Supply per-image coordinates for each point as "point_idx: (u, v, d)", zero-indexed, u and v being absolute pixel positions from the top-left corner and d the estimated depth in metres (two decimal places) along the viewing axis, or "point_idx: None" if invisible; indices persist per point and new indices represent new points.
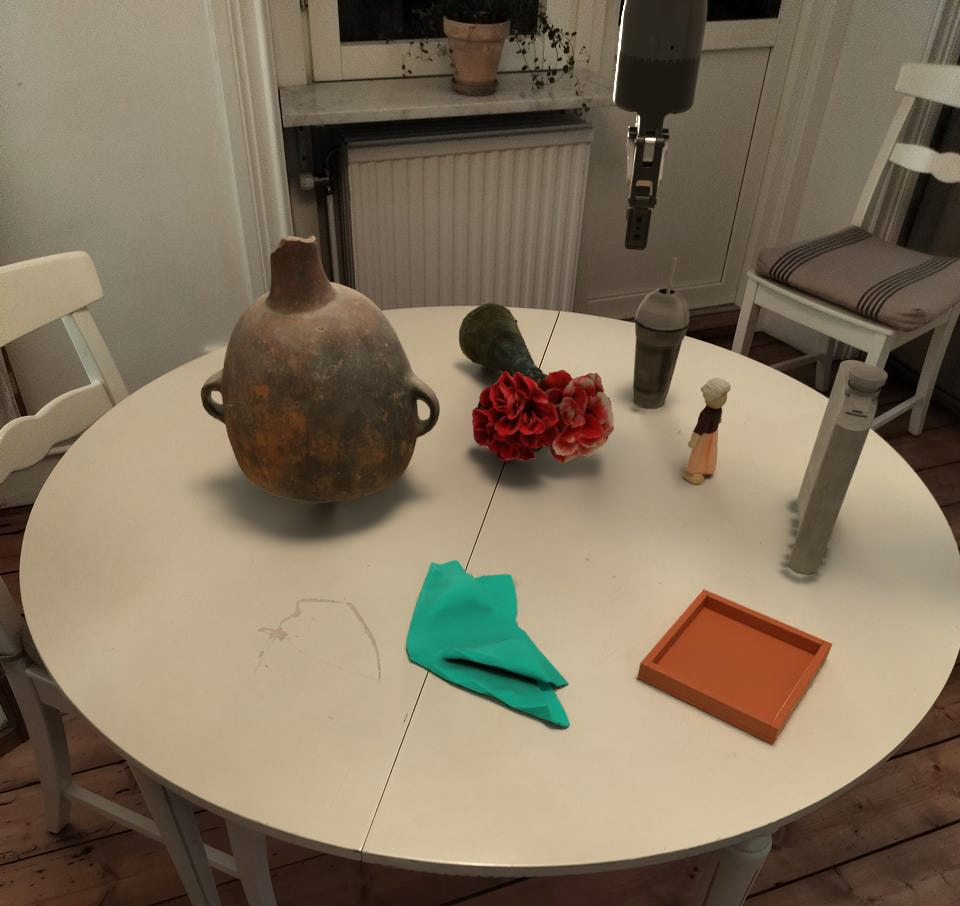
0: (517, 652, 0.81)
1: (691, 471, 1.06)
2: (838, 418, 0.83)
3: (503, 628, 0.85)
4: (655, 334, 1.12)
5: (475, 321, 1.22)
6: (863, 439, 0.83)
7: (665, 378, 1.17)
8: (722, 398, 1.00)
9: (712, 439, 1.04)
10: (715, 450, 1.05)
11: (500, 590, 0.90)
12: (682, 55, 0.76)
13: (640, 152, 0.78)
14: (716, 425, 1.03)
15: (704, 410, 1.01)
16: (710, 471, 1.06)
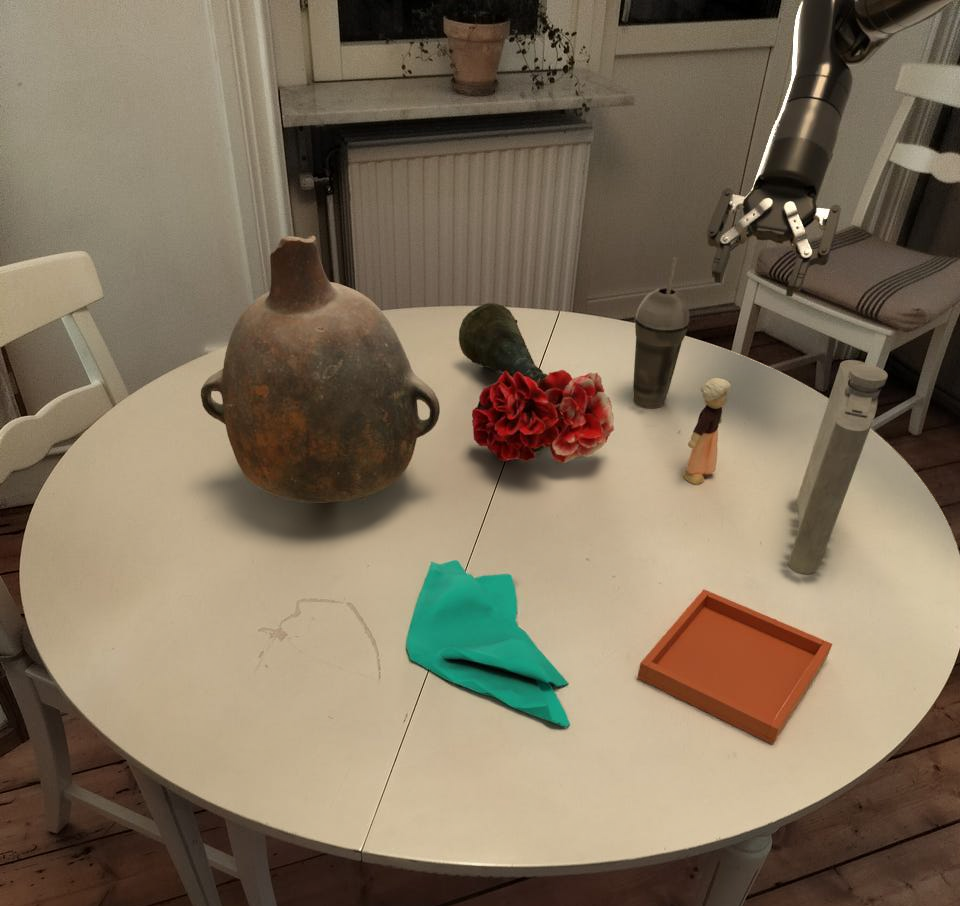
0: (517, 652, 0.81)
1: (691, 471, 1.06)
2: (838, 418, 0.83)
3: (503, 628, 0.85)
4: (655, 334, 1.12)
5: (475, 321, 1.22)
6: (863, 439, 0.83)
7: (665, 378, 1.17)
8: (722, 398, 1.00)
9: (712, 439, 1.04)
10: (715, 450, 1.05)
11: (500, 590, 0.90)
12: (770, 141, 1.00)
13: None
14: (716, 425, 1.03)
15: (704, 410, 1.01)
16: (710, 471, 1.06)
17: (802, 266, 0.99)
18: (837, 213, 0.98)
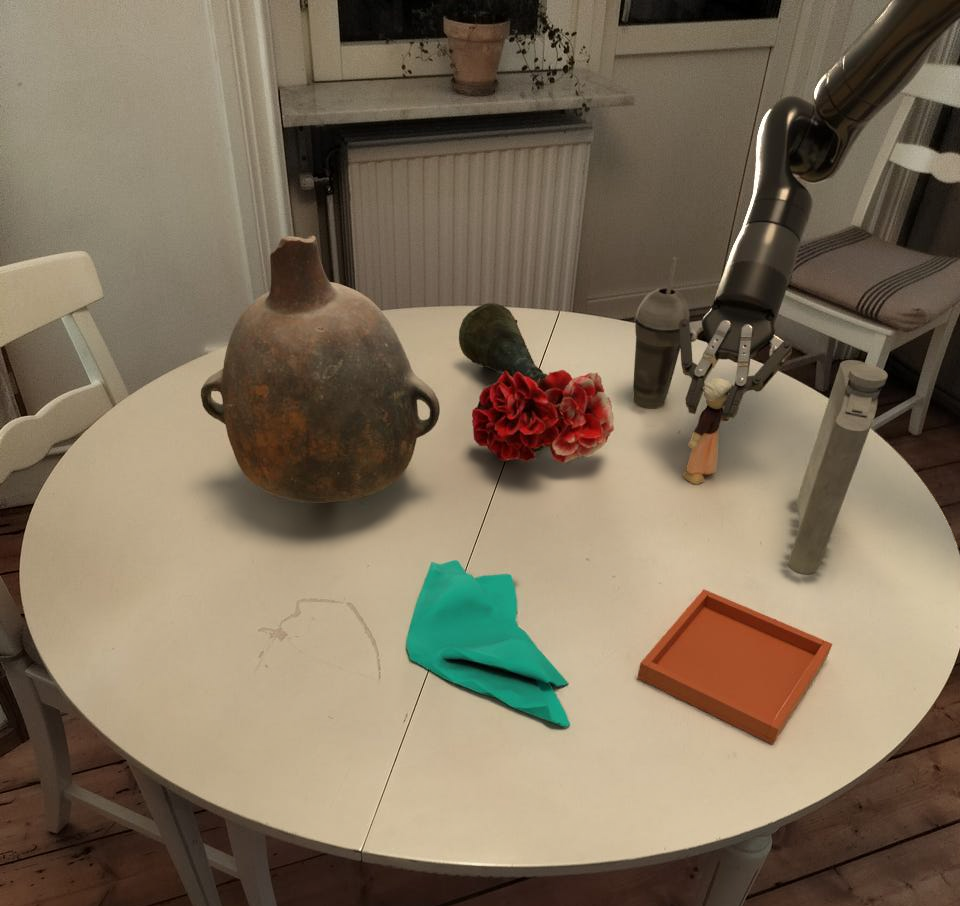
0: (517, 652, 0.81)
1: (691, 471, 1.06)
2: (838, 418, 0.83)
3: (503, 628, 0.85)
4: (655, 334, 1.12)
5: (475, 321, 1.22)
6: (863, 439, 0.83)
7: (665, 378, 1.17)
8: (723, 398, 1.00)
9: (713, 439, 1.04)
10: (715, 450, 1.05)
11: (500, 590, 0.90)
12: (729, 262, 1.00)
13: None
14: (717, 425, 1.03)
15: (705, 410, 1.01)
16: (710, 471, 1.06)
17: (737, 393, 0.99)
18: (786, 349, 0.98)
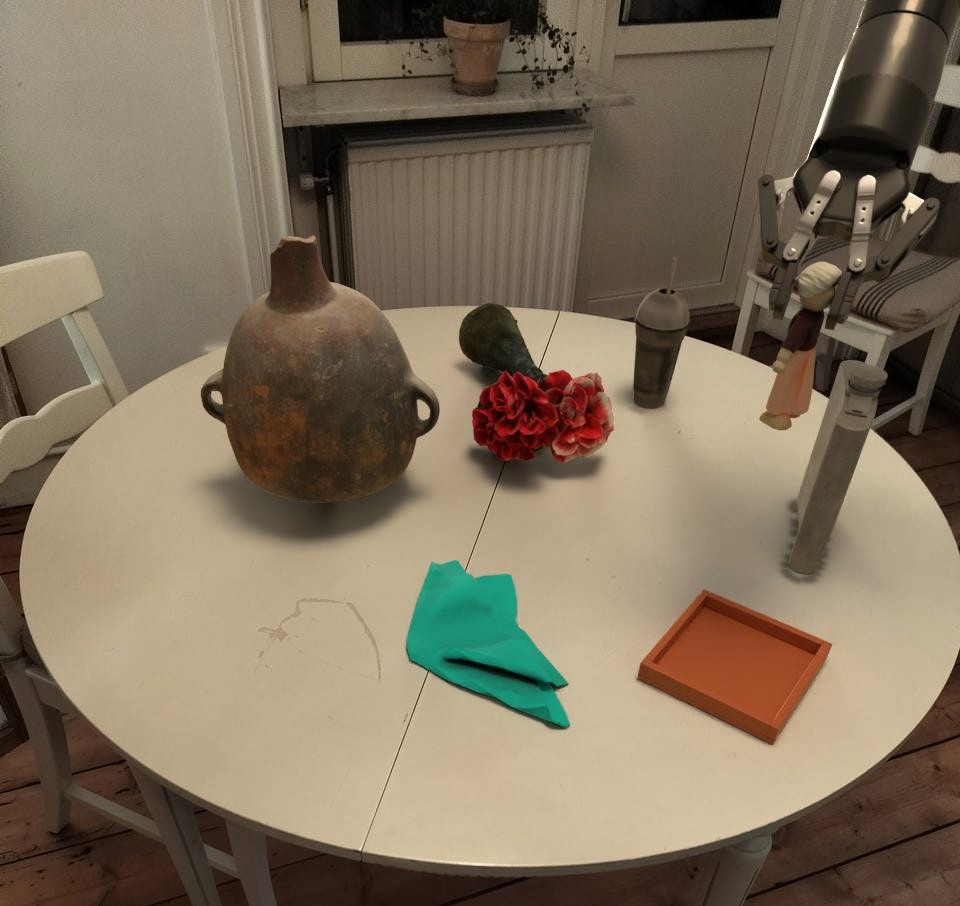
0: (517, 652, 0.81)
1: (773, 411, 0.71)
2: (838, 418, 0.83)
3: (503, 628, 0.85)
4: (655, 334, 1.12)
5: (475, 321, 1.22)
6: (863, 439, 0.83)
7: (665, 378, 1.17)
8: (828, 293, 0.65)
9: (808, 361, 0.69)
10: (811, 378, 0.70)
11: (500, 590, 0.90)
12: (837, 83, 0.65)
13: (758, 205, 0.68)
14: (815, 339, 0.68)
15: (799, 314, 0.66)
16: (801, 411, 0.72)
17: (850, 284, 0.64)
18: (931, 212, 0.63)
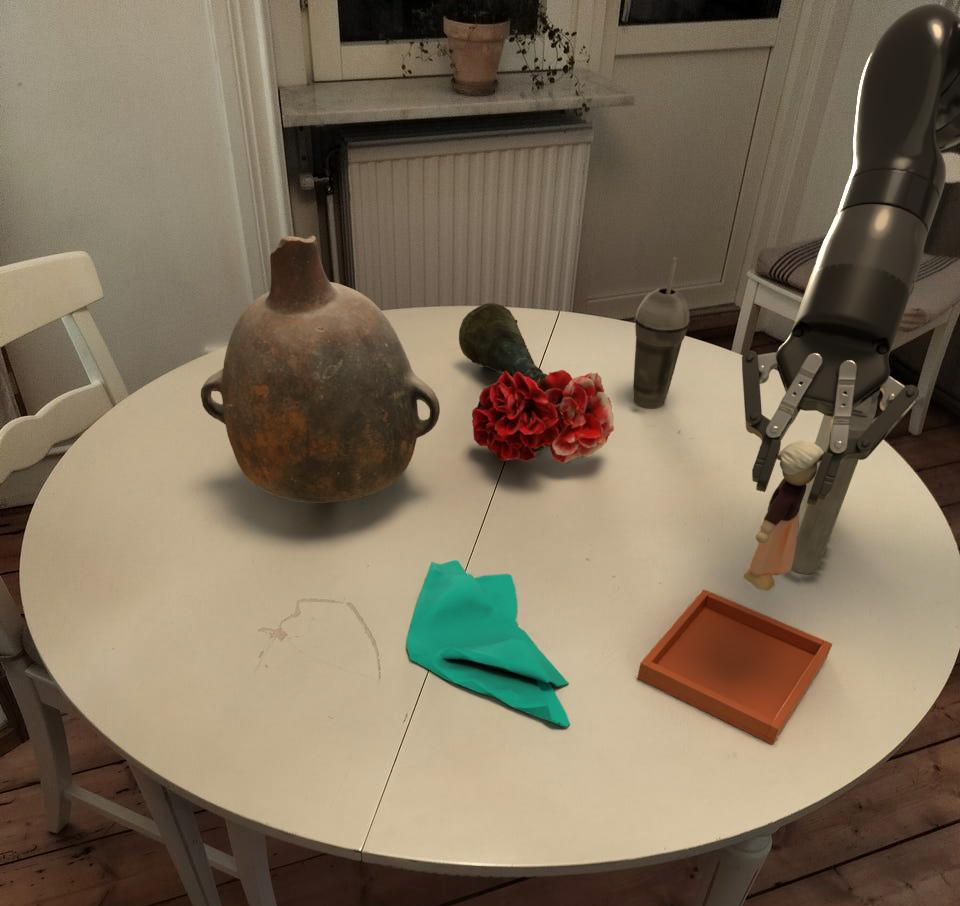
0: (517, 652, 0.81)
1: (757, 571, 0.73)
2: None
3: (503, 628, 0.85)
4: (655, 334, 1.12)
5: (475, 321, 1.22)
6: None
7: (665, 378, 1.17)
8: (810, 471, 0.66)
9: (790, 527, 0.70)
10: (793, 542, 0.71)
11: (500, 590, 0.90)
12: (819, 266, 0.66)
13: None
14: (797, 508, 0.69)
15: (782, 488, 0.68)
16: (784, 571, 0.73)
17: (832, 464, 0.66)
18: (910, 399, 0.64)
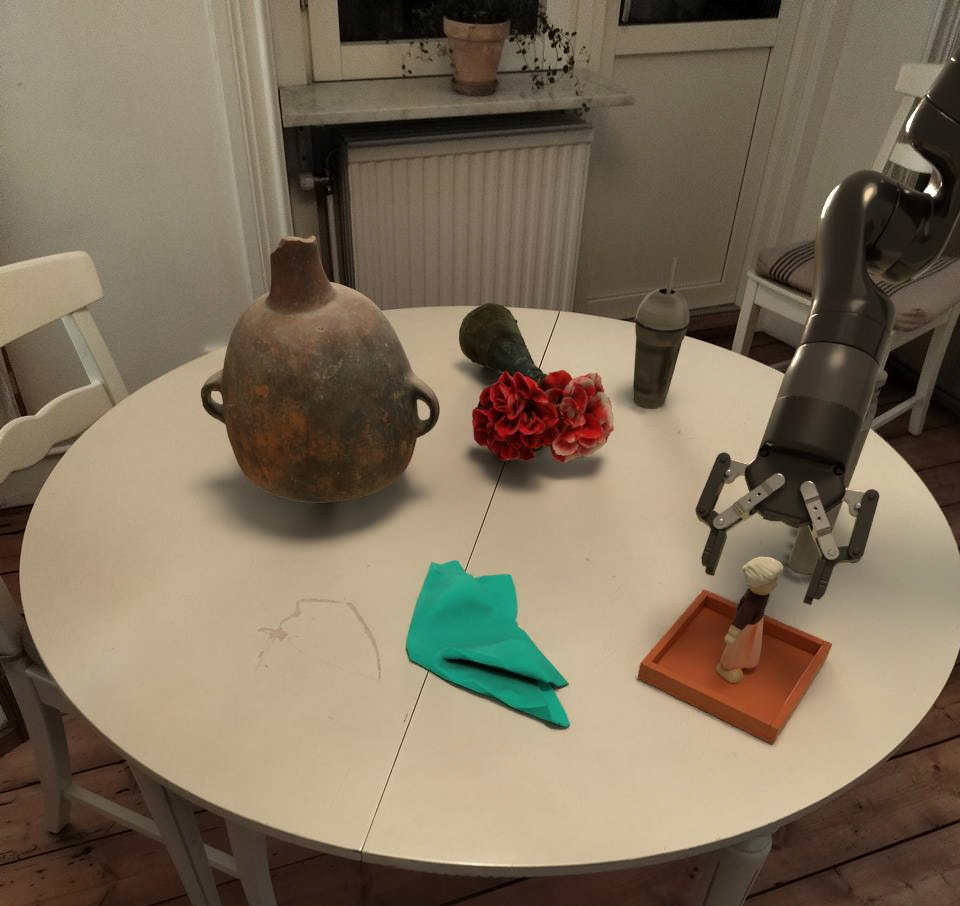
0: (517, 652, 0.81)
1: (727, 666, 0.80)
2: None
3: (503, 628, 0.85)
4: (655, 334, 1.12)
5: (475, 321, 1.22)
6: (863, 439, 0.83)
7: (665, 378, 1.17)
8: (771, 584, 0.74)
9: (756, 629, 0.78)
10: (759, 641, 0.79)
11: (500, 590, 0.90)
12: (782, 394, 0.73)
13: None
14: (762, 613, 0.77)
15: (747, 597, 0.76)
16: (752, 665, 0.81)
17: (825, 569, 0.72)
18: (874, 501, 0.71)
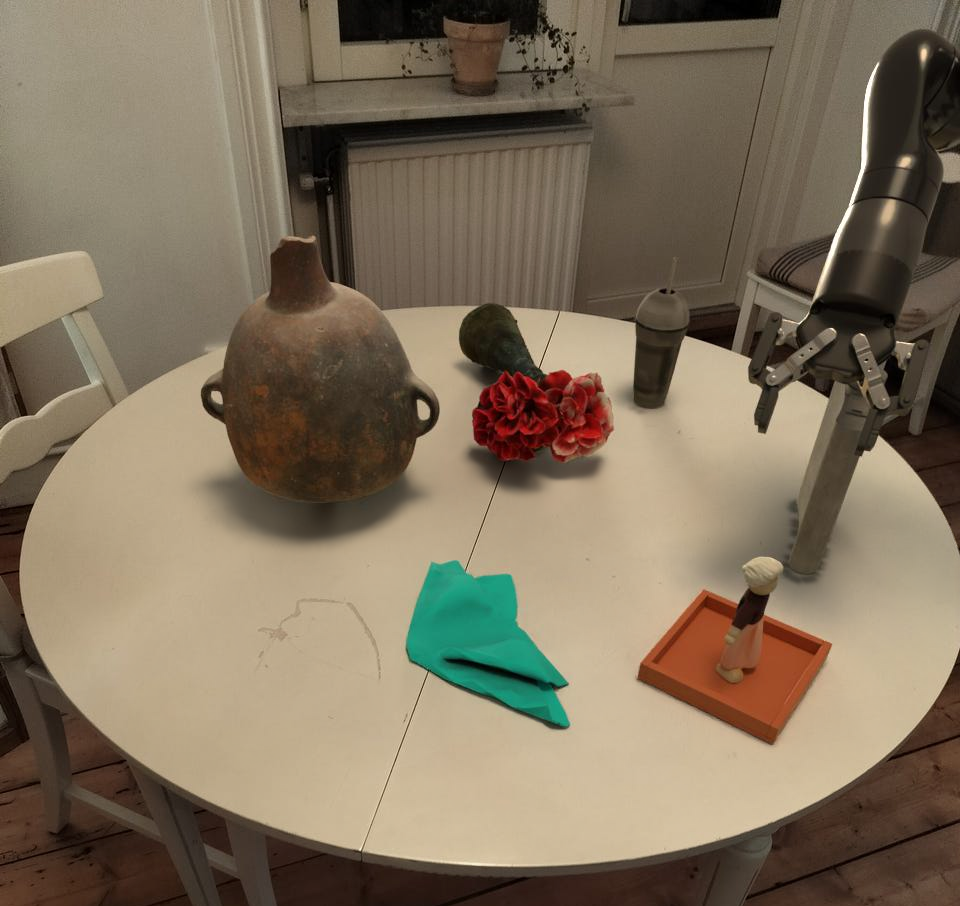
0: (517, 652, 0.81)
1: (727, 666, 0.80)
2: (838, 418, 0.83)
3: (503, 628, 0.85)
4: (655, 334, 1.12)
5: (475, 321, 1.22)
6: None
7: (665, 378, 1.17)
8: (771, 584, 0.74)
9: (756, 629, 0.78)
10: (759, 641, 0.79)
11: (500, 590, 0.90)
12: (833, 252, 0.76)
13: None
14: (762, 613, 0.77)
15: (747, 597, 0.76)
16: (752, 665, 0.81)
17: (876, 419, 0.75)
18: (924, 351, 0.73)
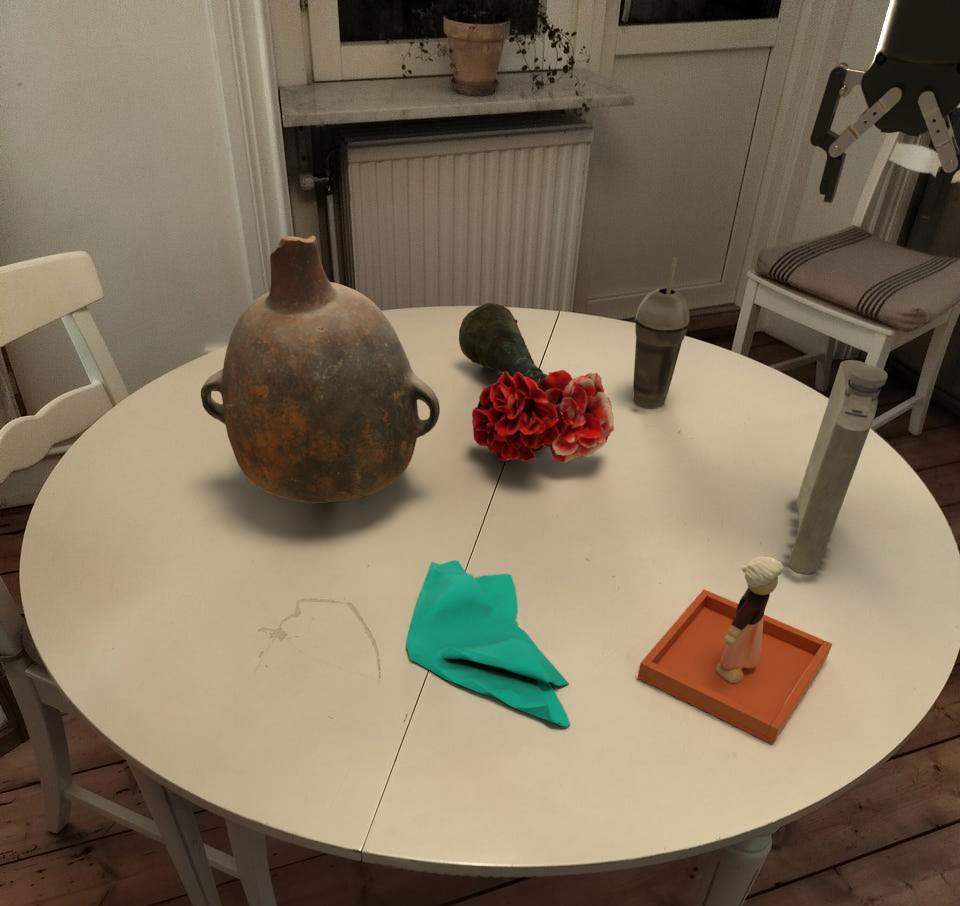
0: (517, 652, 0.81)
1: (727, 666, 0.80)
2: (838, 418, 0.83)
3: (503, 628, 0.85)
4: (655, 334, 1.12)
5: (475, 321, 1.22)
6: (863, 439, 0.83)
7: (665, 378, 1.17)
8: (771, 584, 0.74)
9: (756, 629, 0.78)
10: (759, 641, 0.79)
11: (500, 590, 0.90)
12: None
13: None
14: (762, 613, 0.77)
15: (747, 597, 0.76)
16: (752, 665, 0.81)
17: (944, 181, 0.74)
18: None
